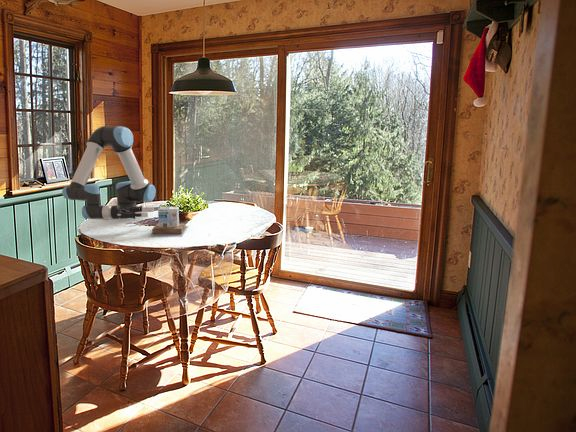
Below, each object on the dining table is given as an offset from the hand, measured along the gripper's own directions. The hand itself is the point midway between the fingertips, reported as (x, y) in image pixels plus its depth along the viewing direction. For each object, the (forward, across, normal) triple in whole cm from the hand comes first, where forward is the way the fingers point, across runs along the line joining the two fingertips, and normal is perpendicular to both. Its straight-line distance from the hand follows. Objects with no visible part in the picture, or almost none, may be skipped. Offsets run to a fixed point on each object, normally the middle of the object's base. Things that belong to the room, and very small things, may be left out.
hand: (150, 211), depth 232 cm
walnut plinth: (+10, 0, -11) cm, 15 cm away
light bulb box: (+10, 0, -9) cm, 13 cm away
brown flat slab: (+10, 0, -12) cm, 16 cm away
